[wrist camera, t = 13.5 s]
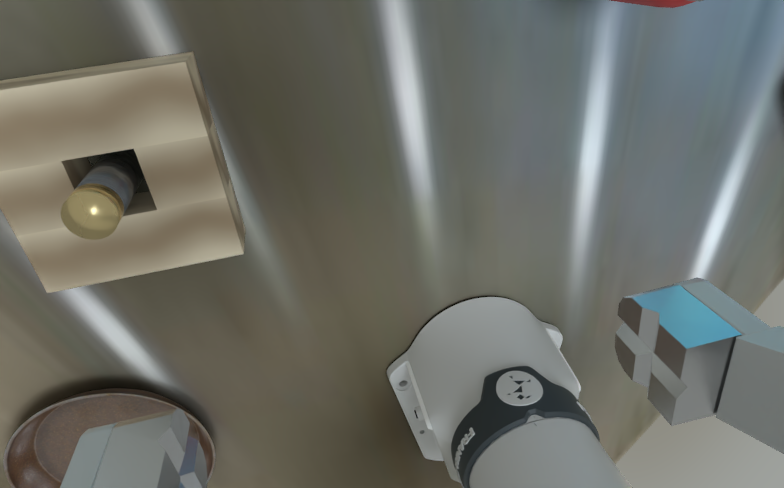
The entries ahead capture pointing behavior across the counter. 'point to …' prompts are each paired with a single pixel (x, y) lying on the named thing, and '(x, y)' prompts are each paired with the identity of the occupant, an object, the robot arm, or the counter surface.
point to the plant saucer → (70, 420)
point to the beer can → (659, 2)
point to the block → (111, 134)
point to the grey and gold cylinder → (103, 195)
